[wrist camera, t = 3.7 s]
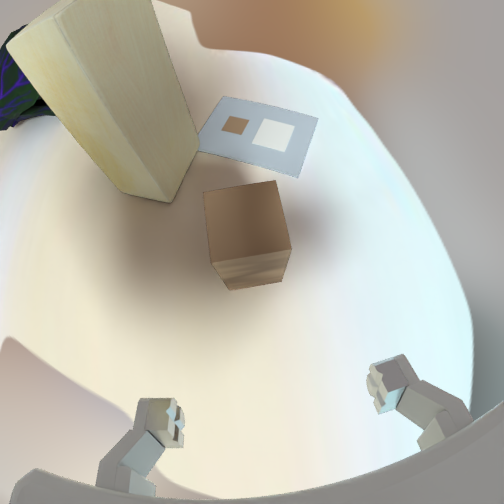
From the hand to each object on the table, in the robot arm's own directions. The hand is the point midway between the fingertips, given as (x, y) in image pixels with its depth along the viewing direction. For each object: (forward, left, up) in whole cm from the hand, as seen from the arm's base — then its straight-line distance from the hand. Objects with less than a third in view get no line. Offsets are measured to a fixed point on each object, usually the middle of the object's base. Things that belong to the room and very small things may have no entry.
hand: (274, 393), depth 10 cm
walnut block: (-6, +7, -12) cm, 15 cm away
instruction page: (-13, +20, -12) cm, 27 cm away
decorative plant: (-49, +16, -13) cm, 53 cm away
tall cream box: (-20, +11, -12) cm, 26 cm away
